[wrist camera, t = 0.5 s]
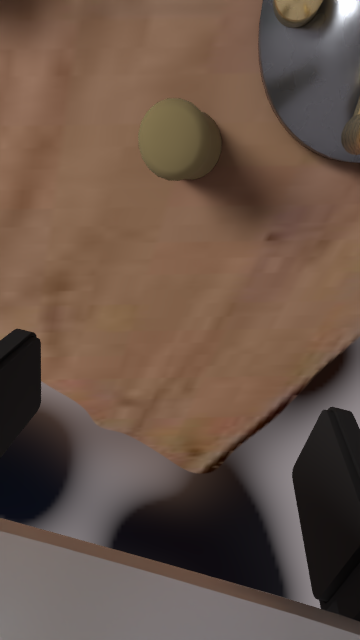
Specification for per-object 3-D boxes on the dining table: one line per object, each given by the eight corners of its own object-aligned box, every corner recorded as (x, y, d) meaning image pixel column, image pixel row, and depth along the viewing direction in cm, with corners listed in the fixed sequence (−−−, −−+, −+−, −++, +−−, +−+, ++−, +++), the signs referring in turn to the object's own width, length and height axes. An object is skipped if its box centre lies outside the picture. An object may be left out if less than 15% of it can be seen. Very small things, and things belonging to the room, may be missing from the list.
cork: (233, 130, 31) (232, 117, 21) (202, 191, 34) (188, 204, 24) (177, 95, 30) (149, 65, 21) (149, 160, 33) (113, 161, 23)
